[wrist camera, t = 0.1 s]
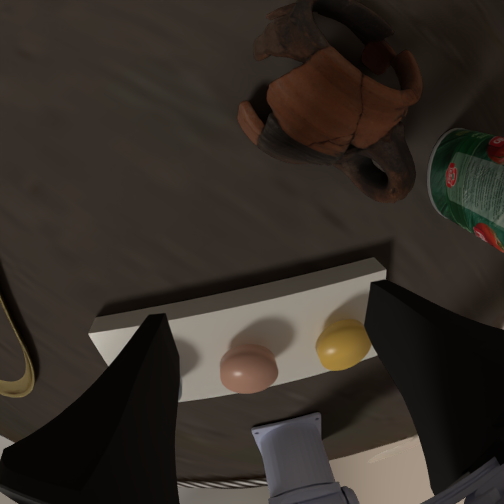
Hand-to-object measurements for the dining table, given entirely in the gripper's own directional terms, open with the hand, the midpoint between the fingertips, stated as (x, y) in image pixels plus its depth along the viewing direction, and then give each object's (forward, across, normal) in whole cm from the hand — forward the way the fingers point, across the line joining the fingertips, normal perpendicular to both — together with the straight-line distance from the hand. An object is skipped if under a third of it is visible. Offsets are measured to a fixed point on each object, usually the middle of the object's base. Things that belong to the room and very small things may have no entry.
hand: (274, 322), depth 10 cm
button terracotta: (+8, +1, +9) cm, 12 cm away
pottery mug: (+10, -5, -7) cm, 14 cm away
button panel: (+10, +1, +9) cm, 14 cm away
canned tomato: (+10, -18, -2) cm, 21 cm away
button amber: (+8, -6, +9) cm, 13 cm away
